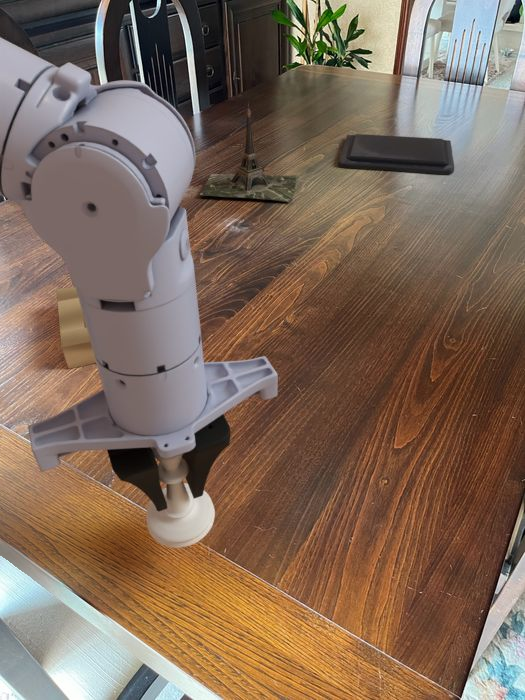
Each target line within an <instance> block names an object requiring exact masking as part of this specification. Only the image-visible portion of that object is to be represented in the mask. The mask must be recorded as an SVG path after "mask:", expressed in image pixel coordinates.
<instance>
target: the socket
mask: <svg viewBox="0 0 525 700" xmlns="http://www.w3.org/2000/svg"><path fill="white" fill-rule="evenodd" d="M55 292H56V302H57V304H56V305H57V314H58V324H59V325H58V326H59V336H60V347H61V351H62V354H63V357H64V360H65V363H66V366H67V369H68V370H70V369H75V368H79V367H84V366H89V365H94V364H96V360H95V357H94V352H93V349H92V345H91V341H90V338H89V334H88V330H87V327H86V323H85V319H84V316H83V312H82V309H81V305H80V301H79V298H78V294H77V290H76V287H73V286H69V287H65V288H59V289H56V290H55Z"/></svg>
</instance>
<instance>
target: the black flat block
mask: <svg viewBox="0 0 525 700" xmlns="http://www.w3.org/2000/svg"><path fill="white" fill-rule="evenodd" d="M451 142H452V141H451V140H449V139H446V140H445V139H443V138H436V137H435V138H434V137H419V136H417V137H415V136H402V135H401V136H400V135H385V134H384V135H381V134H364V133H363V134H362V133H356V134H347V135H346V137H345V139H344V141H343V144H342V147H341V150H340V153H339V156H338V160H337V166H338V167H339V168H342V169H343V168H344V169H353V170H370V171H371V170H372V171H387V172H404V173H415V174H416V173H417V174H432V175H448V176H449V175H451V174H453V173H454V172H455V162H454V157H453V149H452V148H453V147H452V143H451Z"/></svg>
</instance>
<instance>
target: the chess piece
mask: <svg viewBox="0 0 525 700" xmlns="http://www.w3.org/2000/svg"><path fill="white" fill-rule="evenodd" d="M151 448H152V451H153V453H154V456H155V459H156V461H158V463H157V464H158V470H159V480H160V483H162V484H166V485H165V486H166V487H164V488H162V491H163V494H164V497H165V500H166V502H167V509H165V510H162V511H157V510H156V507H155V505H154V504H153V502H152V501H151V500H150V501H149V503H148V506H147V509H146V515H145V517H146V519H145V520H146V521H145V522H146V527H147V531H148V534H149V535H150V536H151V538H152V539H153V540H155V541H156V542H157V543H159V544H160V545H162V546H164V547H168V548H174V549H176V548H177V549H178V548H180V549H181V548H185V547H189V546H192V545H194V544H196V543H198V542H200V541H201V540H202V539H203V538H205V537H206V536H207V535H208V533H209V532H210V531H211V529H212V528H213V526H214V522H215V519H216V518H215V517H216V510H215V505H214V503H213V500H212V499H211V497H210V495H209V493H208V492H206V490H204V492H203V495H202V496H200V497H198V498H195V499H194V498H193V495H192V493H191V490H190V488H189V485H188V483H187V482H186V483H185V482H184V480H186V476H187V474H188V472H189V467H188V464H187V462H186V461H185V460H184V459H183V458H182V455H183V454H180V455H177V456H174V457H171V458H163V457H161V456H160V455H159V454H158V451H157V449H156V448H155V447H151Z"/></svg>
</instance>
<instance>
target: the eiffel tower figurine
mask: <svg viewBox="0 0 525 700" xmlns="http://www.w3.org/2000/svg"><path fill="white" fill-rule="evenodd" d="M249 104H250V103H247V109H246V111H245V115H246V128H245V129H246V130H245V131H246V134H245V146H244V152H243V158H242V161H241V163H240V165H239V166H238V167H237V168H238V170H237V171H236V173H211V174H210V175H209V178H208V179H207V181H206V183H205V185H204V186H203V188H202V190H201V192H200V193H199V196H202V197H203V196H205V197H208V196H209V197H220V198H237V199H238V198H241V199H256V200H268V201H278V202H287V203H291V202H292V201H293V196H294V192H295V186H296V182H297V177H298V175H297V174H295V175H294V174H293V175H290V174H289V175H271V174H265V173H264V171H263V167H262V166H260V164H259V161H258V158H257V153H256V151H255V146H254V139H253V129H252V120H251V119H252V118H251V117H252V116H251V115H252V111H251V109H250V108H249V107H250V106H249Z"/></svg>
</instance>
